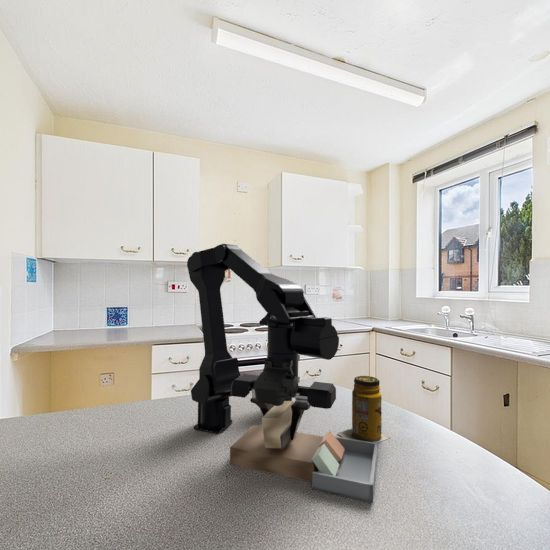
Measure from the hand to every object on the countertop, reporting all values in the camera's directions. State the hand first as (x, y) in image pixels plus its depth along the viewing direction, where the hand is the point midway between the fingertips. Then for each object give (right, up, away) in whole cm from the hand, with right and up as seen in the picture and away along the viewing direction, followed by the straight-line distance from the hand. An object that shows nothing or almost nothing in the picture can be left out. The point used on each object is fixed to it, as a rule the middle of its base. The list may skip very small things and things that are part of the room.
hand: (282, 437), depth 61 cm
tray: (+11, -4, -4) cm, 12 cm away
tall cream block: (0, 0, 0) cm, 0 cm away
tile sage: (+7, -2, -5) cm, 9 cm away
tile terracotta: (+9, -2, 0) cm, 9 cm away
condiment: (+17, -5, +9) cm, 20 cm away
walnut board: (0, -4, 0) cm, 4 cm away
